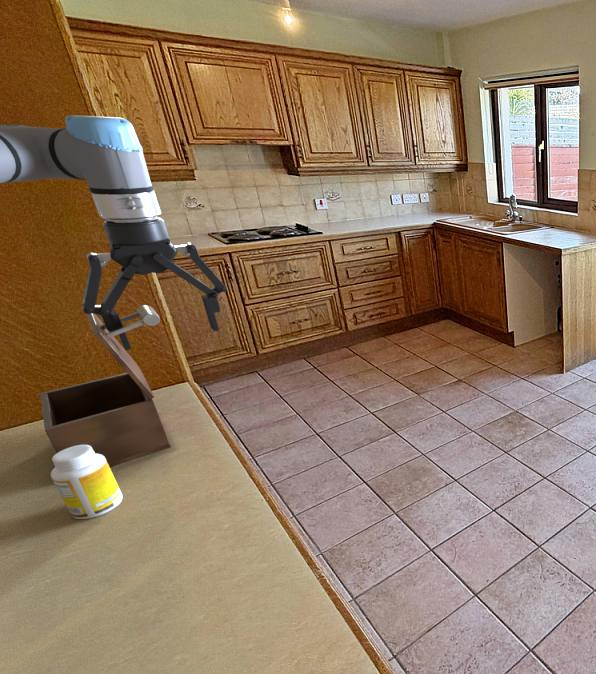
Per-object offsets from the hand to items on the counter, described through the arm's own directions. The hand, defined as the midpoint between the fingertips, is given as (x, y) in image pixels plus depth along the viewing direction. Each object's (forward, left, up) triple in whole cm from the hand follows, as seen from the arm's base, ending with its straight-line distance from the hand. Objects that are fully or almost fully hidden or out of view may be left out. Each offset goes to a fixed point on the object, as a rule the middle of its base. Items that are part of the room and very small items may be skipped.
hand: (173, 337), depth 87 cm
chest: (-6, -10, -17) cm, 21 cm away
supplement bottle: (+8, -23, -18) cm, 30 cm away
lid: (-4, -7, -1) cm, 8 cm away
